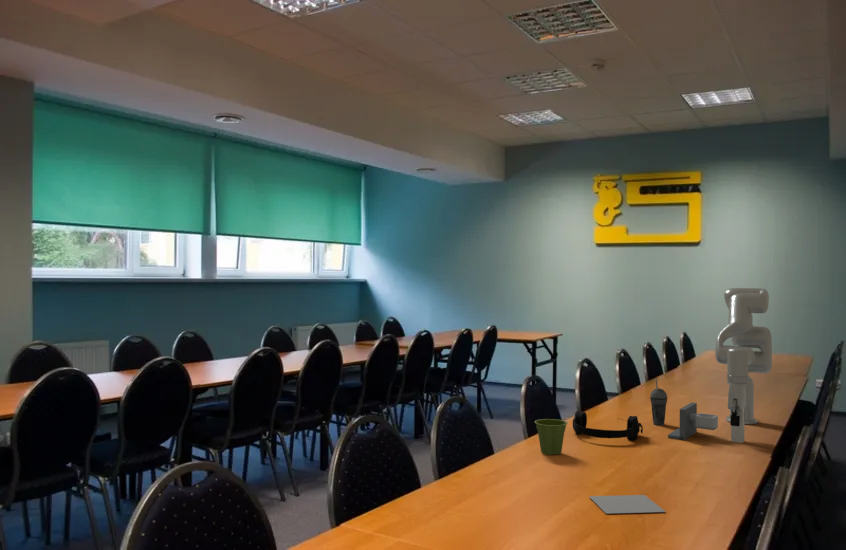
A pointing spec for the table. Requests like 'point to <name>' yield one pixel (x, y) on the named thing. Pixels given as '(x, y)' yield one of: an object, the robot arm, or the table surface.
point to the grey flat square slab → (626, 504)
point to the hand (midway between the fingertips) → (737, 423)
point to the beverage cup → (658, 405)
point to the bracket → (693, 422)
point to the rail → (738, 429)
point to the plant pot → (551, 435)
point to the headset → (630, 432)
